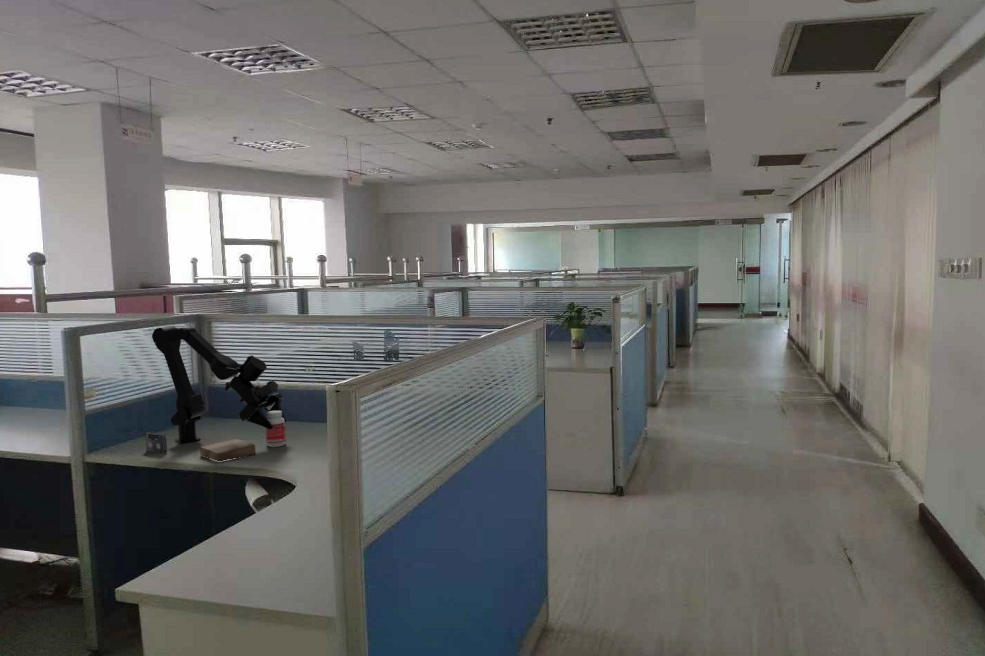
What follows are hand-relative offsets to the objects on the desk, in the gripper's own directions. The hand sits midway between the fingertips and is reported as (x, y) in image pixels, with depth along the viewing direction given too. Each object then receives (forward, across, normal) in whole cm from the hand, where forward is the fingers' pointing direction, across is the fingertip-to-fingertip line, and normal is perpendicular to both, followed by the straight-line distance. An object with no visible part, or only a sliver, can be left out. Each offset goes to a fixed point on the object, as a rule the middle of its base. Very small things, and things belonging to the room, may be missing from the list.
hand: (278, 425), depth 237 cm
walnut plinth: (-2, -14, +12) cm, 18 cm away
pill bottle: (+4, 0, +6) cm, 7 cm away
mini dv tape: (-20, -14, +30) cm, 39 cm away
